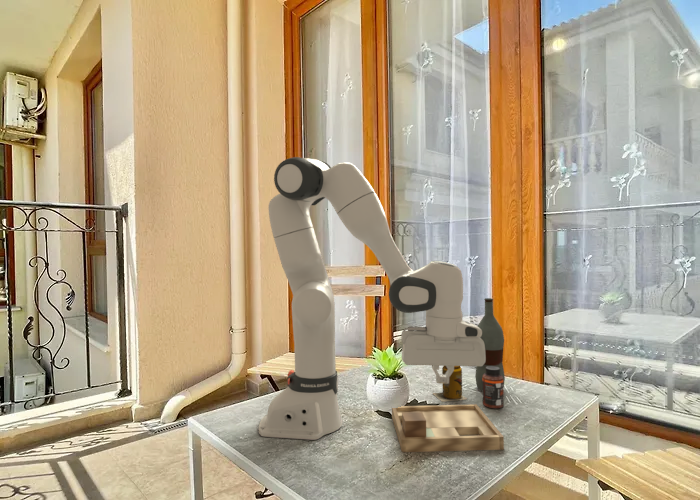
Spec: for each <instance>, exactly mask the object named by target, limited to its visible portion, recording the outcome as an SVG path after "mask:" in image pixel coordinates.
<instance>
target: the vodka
mask: <svg viewBox="0 0 700 500" xmlns="http://www.w3.org/2000/svg"><path fill="white" fill-rule="evenodd" d="M477 326H478V327H479V328H480V329H481V330H482V336H481V337H480V338H481V339H482V340H483V342H484V345H485V355H486V360H485V363H484V365H483V366H475V377H474V378H475V384H476V387H477V389H478V390H479V391H480V392H483V388H482V387H483V386H482V377H483V374H485V373H486V367H487V366H495V367H499V368H500V375H502V376H503V387H504V388H505V381H506V380H505V379H506V377H505V370H504V363H503V361H504V357H503V356H504V344H505V337H504V331H503V327H502V326H501V324H500V323H499V321H498V320H497V318H496V317H495V315H494V298H489V297H487V298H484V315H483V317H482V318H481V320H480V321H479V323H478V325H477Z"/></svg>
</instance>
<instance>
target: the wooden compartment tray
mask: <svg viewBox="0 0 700 500" xmlns="http://www.w3.org/2000/svg"><path fill="white" fill-rule="evenodd" d="M400 406H401V407H398V408H392V407H391V418H392V423H393V426H394V429H395V432H396V437H397V439H398V440H397V441H398V443H399V447H400V450H401V453H420V452H422V453H423V452H458V451H459V452H462V451H499V450H502V451H503V450H504V451H505V439H504V435H503V434H502V433H501V432H500V430H499V429H498V428H497V427H496V426H495V424H494V423H493V422H492V421H491V420H490V419H489V417H488V416H487V415H486V414H485V413H484V411H483V410H482V409H481V408H480V406H478V404H477V403H475V404H473V403H471V404H442V405H441V404H439V405H437V404H436V405H400ZM403 412H422V413H423V415H424V417H425V419H426V437H405V435H404V432H403V429H402V413H403Z"/></svg>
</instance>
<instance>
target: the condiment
mask: <svg viewBox="0 0 700 500" xmlns="http://www.w3.org/2000/svg"><path fill="white" fill-rule="evenodd" d="M447 370H448V368H447V367H446V366H442V370H441V371H442V372H441V373H442V374H441V375H445V373H446V372H447ZM432 394H433V395H434V397H436V398H437V399H438V400H439V401H441V403H445V402H451V401H452V402H453V401H455V402H456V401H457V402H458V401H462V400H463V401H464V400H465V401H466V400H467V399H468V398H467V397H466V396H464V395H463V368H462V366H454V371H453V373H452V374H451V376H450V377H449V384H446V383H442V391H441V392H433V393H432Z"/></svg>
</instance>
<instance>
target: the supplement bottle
mask: <svg viewBox="0 0 700 500" xmlns="http://www.w3.org/2000/svg"><path fill="white" fill-rule="evenodd" d="M482 386H483V387H482V388H483V391H482V404H483V406H485V407H486V408H490V409H501V408H503V407H504V403H505V401H504V395H505V394H504V388H505V386H504V387H503V376H502V375H500V368H499V367H495V366H487V367H486V373H485V374H483V377H482Z"/></svg>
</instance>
